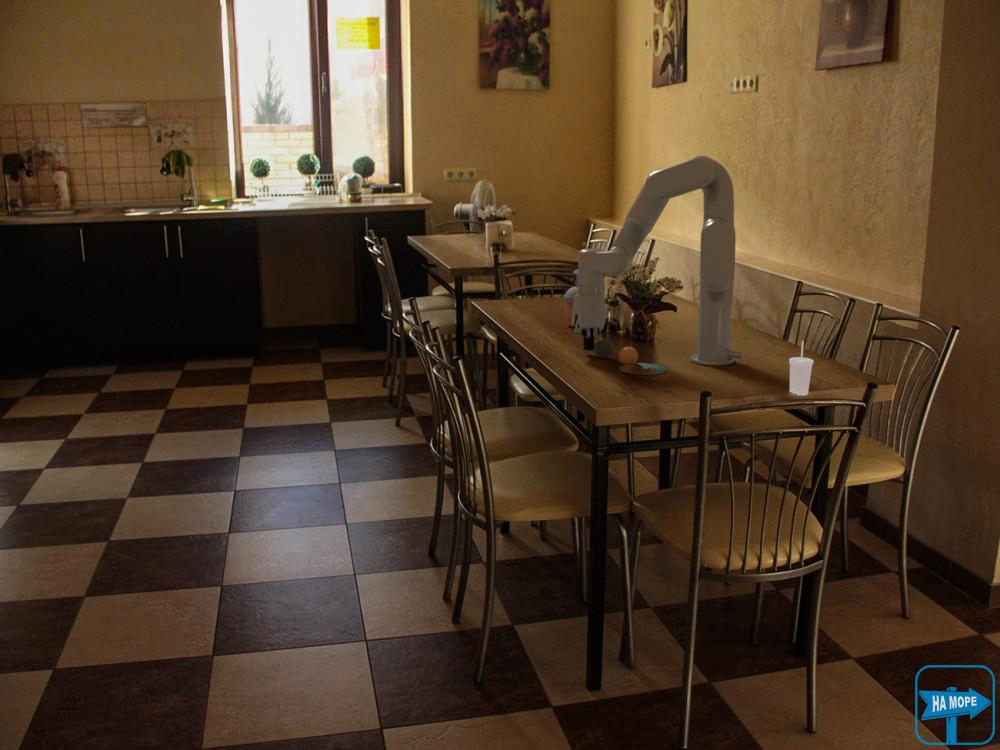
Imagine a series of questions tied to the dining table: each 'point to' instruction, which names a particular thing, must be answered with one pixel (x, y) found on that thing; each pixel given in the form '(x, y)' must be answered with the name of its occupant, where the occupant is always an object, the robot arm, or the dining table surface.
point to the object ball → (628, 356)
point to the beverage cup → (800, 374)
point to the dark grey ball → (603, 349)
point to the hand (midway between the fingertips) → (588, 349)
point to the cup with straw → (570, 301)
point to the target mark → (658, 368)
